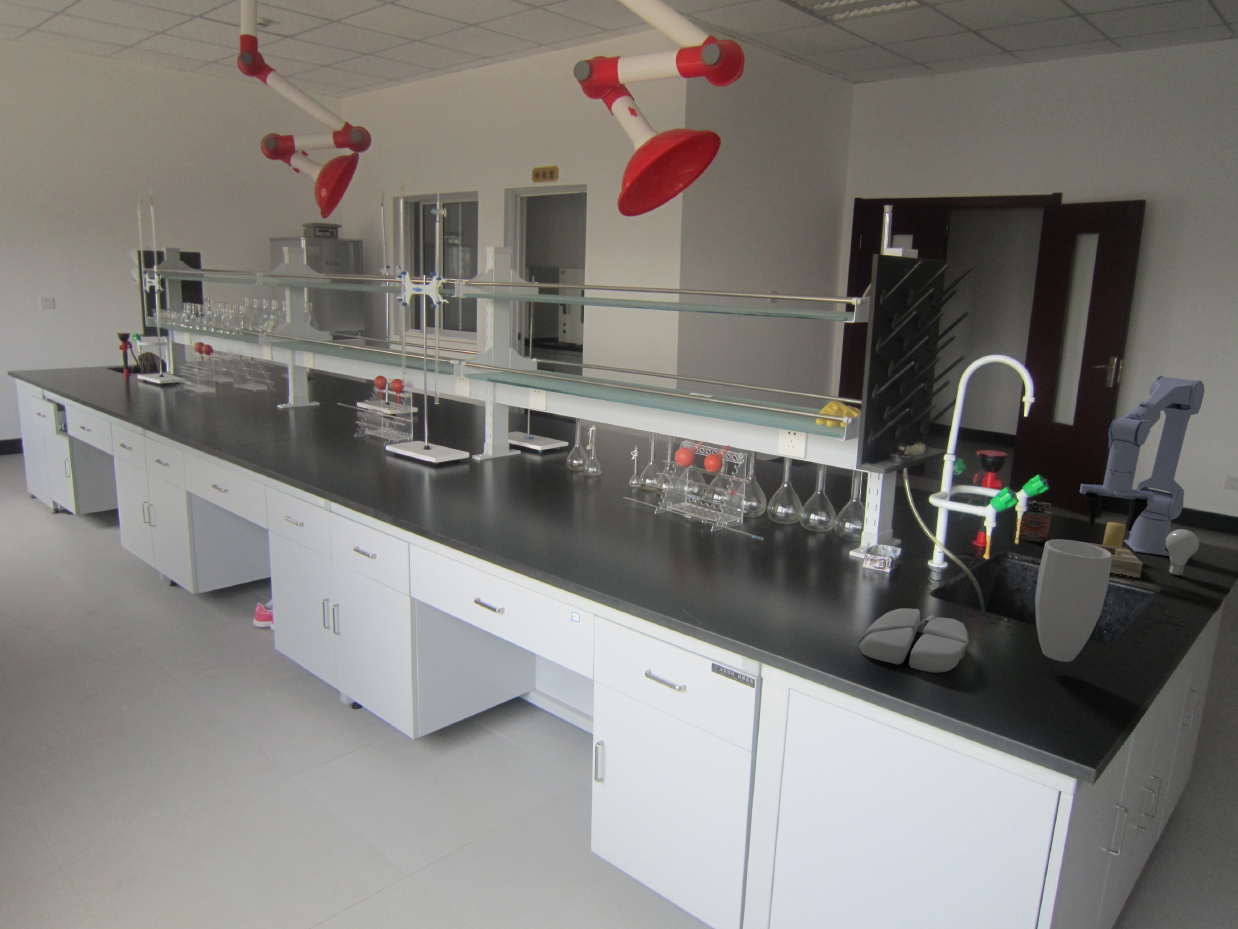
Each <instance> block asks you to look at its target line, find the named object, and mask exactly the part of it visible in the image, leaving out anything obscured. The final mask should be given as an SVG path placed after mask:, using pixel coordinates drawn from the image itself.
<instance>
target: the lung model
mask: <svg viewBox="0 0 1238 929" xmlns="http://www.w3.org/2000/svg"><path fill="white" fill-rule="evenodd" d="M920 627H923V630H922V635H921V636H920V637H919V639H918V640H917V641H916V642H915V644H914V645H913V648H912V649H911V651H910V648H911V646H912V644H913V642H914V641H915V637H916V633H917V631H918V629H919V628H920ZM969 638H970V637H969V632H968V631H967V628H966V626H965V625H964V623H963V622H961V621H959V620H958V619H955V618H949V617H948V618H947V617H939V616H938V617H936V616H935V615H933V614H931V615H928V616H927V618H924V619H923V620H921V612H920V610H919V608H902V607H901V608H897V609H896V608H895V609H894V610H890V611H887V612H886V613H885V614H883V615H882V616H880V617H879V618H878V619H876V620H875V621H874V622H873V623H872V624H871V625H870V626H869V627H868V628H867V629H866V630H865V632H864V634H863V635H862V637H861V639H860V640H859V643H860V644H859V647H858V649H859V651H860V652H861V654H862V656H863V655H864V656H866V657H868V658H871V659H873V660H877V661H881V662H886V663H889V664H894V665H897V666H898V665H900V664H903V663H904V661H905V660H906V658H907V656H908V653H909V651H910V655H909V660H908V665H909V667H910V668H911V669H913V670H919V671H923V672H928V673H933V674H934V673H935V674H938V673H945V672H946V673H947V672H948V671H949V672H950V671H951V670H952V669H954V668H955V667H957V666H958V664H959V662H960V660H961V659H963V658H964V657H965V654H966V652H967V649H968V648H969V646H970V639H969Z"/></svg>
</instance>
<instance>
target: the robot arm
mask: <svg viewBox="0 0 1238 929" xmlns="http://www.w3.org/2000/svg"><path fill="white" fill-rule="evenodd" d="M1204 395H1205V385H1204V383H1203V381H1202V380H1200V379H1197V380H1194V379H1185V378H1177V377H1168V376H1163V375H1158V376H1156V377H1154V379H1153V380H1152V382H1151V384H1150V389H1149V397H1148V398H1147V399H1146V401H1141V402H1138V403H1136V404H1135V405H1134V406H1133V407H1132V408H1131V409H1130V410H1129V411H1128V413H1126V414H1125V415H1124V416H1119V417H1118V418H1114V419H1113V420H1112V422H1111V424H1110V425H1109V428H1108V449H1109V453H1108V459H1107V464H1106V469H1105V475H1104V479H1103V484H1086V483H1080V486H1079V487H1080V489H1079V493H1080V494H1082V495H1083V497H1084V500H1085V503H1086V508H1087V512H1088V514H1087V515H1088V525H1089V526H1094V525H1095V520H1096V512H1097V508H1098V505H1099V502H1100V499H1099V496H1105V497H1111V498H1118V499H1119V498H1120V499H1121V498H1122V499H1127V500H1128V499H1129V500H1130V501H1129V508H1128V516H1127V519H1126V523H1125V526H1126V528H1125V530H1126V531H1128V532H1129V536H1128V539H1123V542H1124V543H1126V545H1127V546H1128V547H1129V548H1130V549H1131V550H1133V552H1137V553H1141V554H1142V553H1143V554H1151V555H1157V556H1158V555H1159V556H1164V557H1165V556H1166V557H1170V554H1169V551H1168V550H1166V543H1165V542H1166V538H1167V536H1168V535H1169V531H1170V528H1171V522H1172V520H1175V519H1177V518H1179V516H1180V515H1181V513H1182V511H1183V508H1184V502H1185V501H1184V496H1185V489H1183V487H1182V486H1181V485H1180V484H1179V483H1178V482H1177V481H1176V480H1175V475H1176V474H1177V473H1176V472H1177V468H1178V464H1179V461H1180V456H1181V452H1182V448H1183V445H1184V442H1185V441H1184V440H1185V436H1186V434H1187V432H1186V431H1187V429H1188V424H1189V421H1190V418H1191V416H1193V415H1197V414H1199V412H1200V411H1201V410H1200V409H1201V407H1202V403H1203V399H1204ZM1162 411H1163V413H1164V414H1165V419H1164V423H1163V427H1162V430H1161V435H1160V440H1159V443H1158V447H1157V450H1156V455H1155V459H1154V464H1153V468H1152V472H1151V475H1150V477H1148V478H1144V479H1142V480H1140V481H1139V482H1138V484H1137V486H1136V489H1133V485H1134V481H1135V475H1136V471H1137V470H1136V469H1137V466H1138V460H1139V456H1140V451H1141V447H1142V446H1143V445H1144V444H1145V443H1146V441H1147V439H1148V436H1149V435H1150V432H1151V428H1153V427H1154V425H1155V424H1156V423H1157V422H1158V421H1159V420H1160V418H1161V415H1162V414H1161V413H1162Z"/></svg>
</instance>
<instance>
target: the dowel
mask: <svg viewBox="0 0 1238 929" xmlns="http://www.w3.org/2000/svg"><path fill="white" fill-rule="evenodd" d="M1125 532H1126V524H1123V523H1119V522H1114V521H1108V522H1107V523H1106V526H1105V531H1104V536H1103V542H1102V545H1109V546H1116V547H1123V542H1124V537H1125Z"/></svg>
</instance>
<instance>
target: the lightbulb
mask: <svg viewBox="0 0 1238 929" xmlns="http://www.w3.org/2000/svg"><path fill="white" fill-rule="evenodd" d="M1165 543H1166V546H1165V548H1166V549H1167V552H1168V553H1169V554H1170V556H1169V561H1170V564H1169V569H1168V572H1169V573H1170V575H1172V576H1176V577H1178V576H1181V575H1183V573H1184V567H1185V565H1186V564H1187V563H1188V560H1189V559H1190V557H1191V556H1193V555H1194V554H1196V552H1197V551H1198V549H1199V546H1200V540H1199V538H1198V537H1197V535H1196V534H1195V533H1194V532H1192V531H1191V530H1188V529H1183V528H1181V529H1179V528H1178V529H1174V530H1173V531H1171V532H1170V533H1168V536H1167V538H1166V542H1165Z"/></svg>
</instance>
